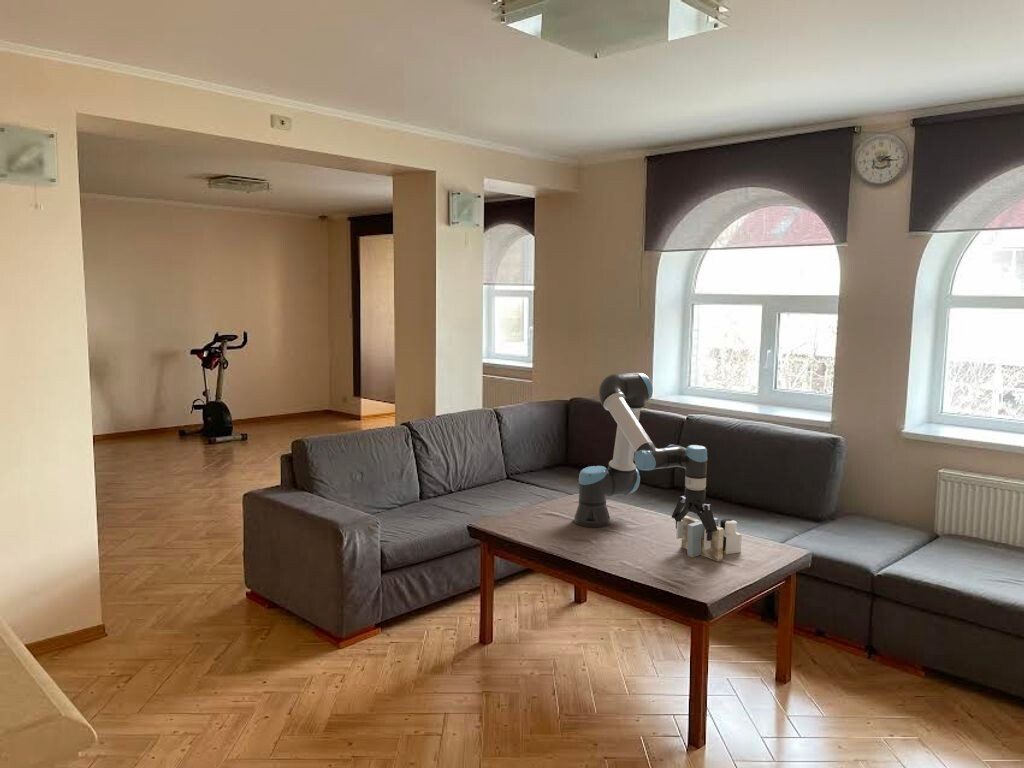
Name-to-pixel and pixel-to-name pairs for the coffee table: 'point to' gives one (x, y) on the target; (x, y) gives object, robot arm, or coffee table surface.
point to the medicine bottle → (730, 536)
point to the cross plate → (695, 538)
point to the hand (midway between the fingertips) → (693, 543)
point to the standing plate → (716, 541)
